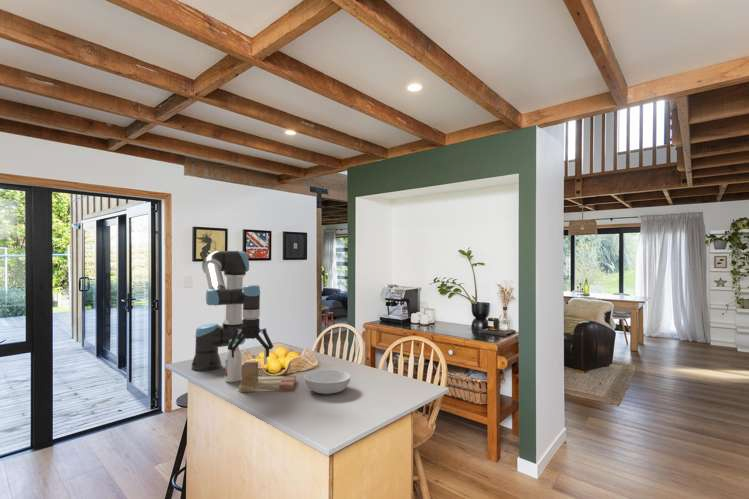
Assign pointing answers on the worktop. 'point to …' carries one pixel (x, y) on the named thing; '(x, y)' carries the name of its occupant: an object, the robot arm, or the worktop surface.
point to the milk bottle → (233, 370)
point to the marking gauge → (249, 376)
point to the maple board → (274, 383)
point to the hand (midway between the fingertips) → (250, 364)
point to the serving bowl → (327, 381)
